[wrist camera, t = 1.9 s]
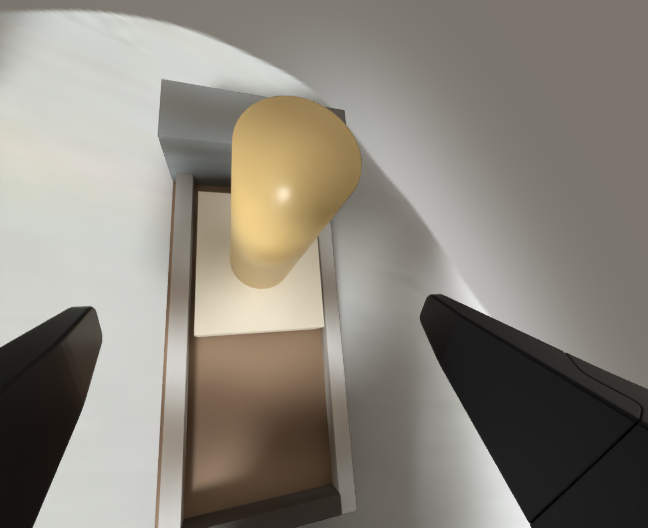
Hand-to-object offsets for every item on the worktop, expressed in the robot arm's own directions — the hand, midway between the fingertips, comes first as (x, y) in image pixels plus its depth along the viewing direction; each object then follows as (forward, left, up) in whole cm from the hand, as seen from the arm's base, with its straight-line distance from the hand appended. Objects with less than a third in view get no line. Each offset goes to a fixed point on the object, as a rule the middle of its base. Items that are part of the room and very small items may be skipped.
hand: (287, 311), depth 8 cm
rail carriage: (+3, -1, -8) cm, 9 cm away
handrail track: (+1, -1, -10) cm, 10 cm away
